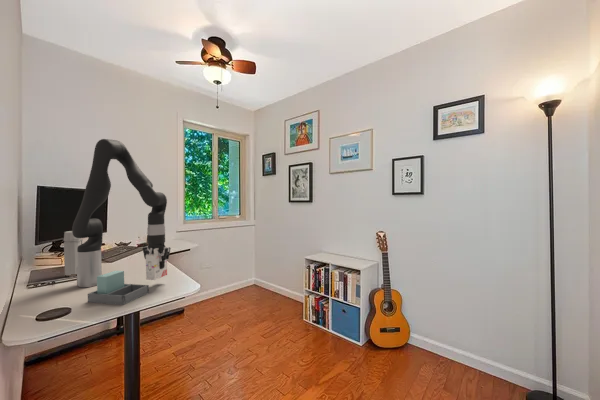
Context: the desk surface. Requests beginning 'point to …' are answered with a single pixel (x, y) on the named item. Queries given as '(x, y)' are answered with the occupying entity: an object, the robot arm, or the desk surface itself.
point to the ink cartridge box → (154, 266)
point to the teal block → (110, 282)
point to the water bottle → (71, 253)
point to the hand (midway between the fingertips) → (156, 268)
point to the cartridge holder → (120, 295)
